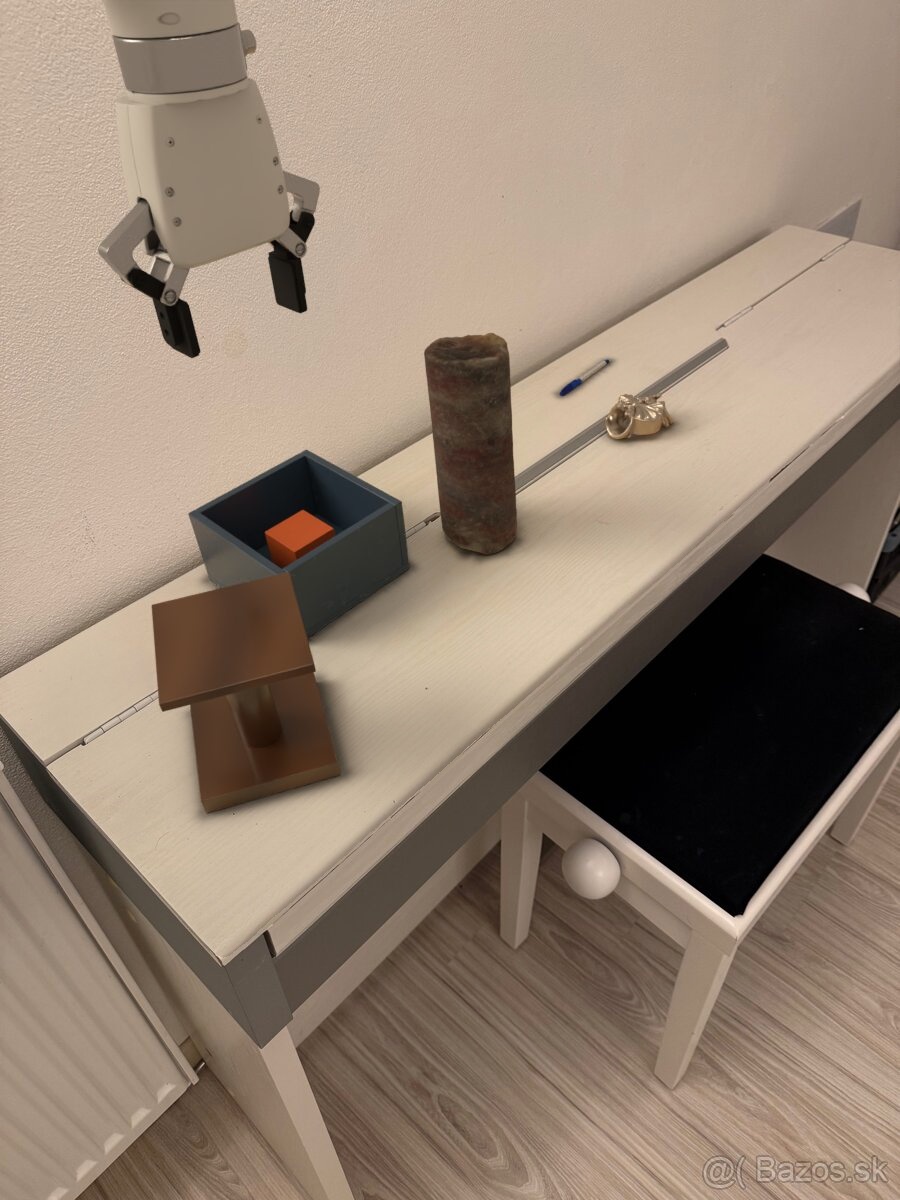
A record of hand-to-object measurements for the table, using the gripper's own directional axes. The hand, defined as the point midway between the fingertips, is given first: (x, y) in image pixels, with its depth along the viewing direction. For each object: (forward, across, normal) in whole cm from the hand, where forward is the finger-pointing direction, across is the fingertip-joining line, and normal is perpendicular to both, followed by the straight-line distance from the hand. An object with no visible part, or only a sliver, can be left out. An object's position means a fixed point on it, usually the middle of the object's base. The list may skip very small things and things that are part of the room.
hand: (240, 329), depth 64 cm
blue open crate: (+25, -2, 0) cm, 25 cm away
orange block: (+24, -2, 0) cm, 24 cm away
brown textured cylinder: (+25, -17, +8) cm, 31 cm away
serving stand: (+25, +14, +13) cm, 32 cm away
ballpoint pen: (+24, -48, -3) cm, 54 cm away
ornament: (+24, -42, +8) cm, 50 cm away
